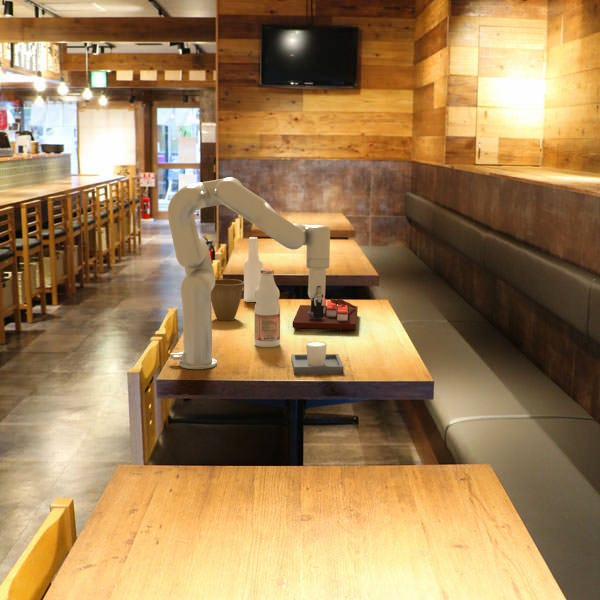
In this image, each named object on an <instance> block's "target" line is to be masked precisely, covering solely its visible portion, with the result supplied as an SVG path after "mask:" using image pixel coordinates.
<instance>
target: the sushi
mask: <svg viewBox="0 0 600 600" xmlns="http://www.w3.org/2000/svg"><path fill="white" fill-rule="evenodd" d="M323 306H324V309H323V318H314V317H313V312H311V304H310V305H309V304H300V305H299V307H298V309H297V311H296V314H295V316H294V318H293V321H292V329H293V330H307V331H308V330H309V331H310V330H312V331H345V332H346V331H349V332H353V331H354V332H356V331H357V320H358V307H359V306H357V305H354V304H352V303H350V302H348V301H346V300H344V299H342V298H338V299H335V298H330V300H328V301H327V299H326V298H324V299H323Z"/></svg>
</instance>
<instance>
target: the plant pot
mask: <svg viewBox="0 0 600 600" xmlns="http://www.w3.org/2000/svg"><path fill="white" fill-rule="evenodd" d="M243 291H244V280H243V281H242V280H240V279H233V278H231V279H230V278H221V279H220V278H218V279H216V278H215V286H214V288H213V290H212V291H211V307H212V309H213V312H214V315H215V318H216V320H217V321H223V322H224V321H225V322H226V321H229V322H230V321H233V320H234V319H235V318H236V316H237V313H238V309H239V306H240V303H241V299H242V294H243Z"/></svg>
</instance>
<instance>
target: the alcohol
mask: <svg viewBox="0 0 600 600" xmlns="http://www.w3.org/2000/svg"><path fill="white" fill-rule="evenodd" d="M247 255H248V256H247V258H246V259H244V263H243V282H244V284H243V300H244V302H245V301H246V302H245V303H247V302H256V298H255V290H256V289H257V287H258V285H259V283H260V280H261V270H262V269H264V263H263V261H262V259H261V258H260V255H259V247H258V237H257V236H250V237H248V254H247Z"/></svg>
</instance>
